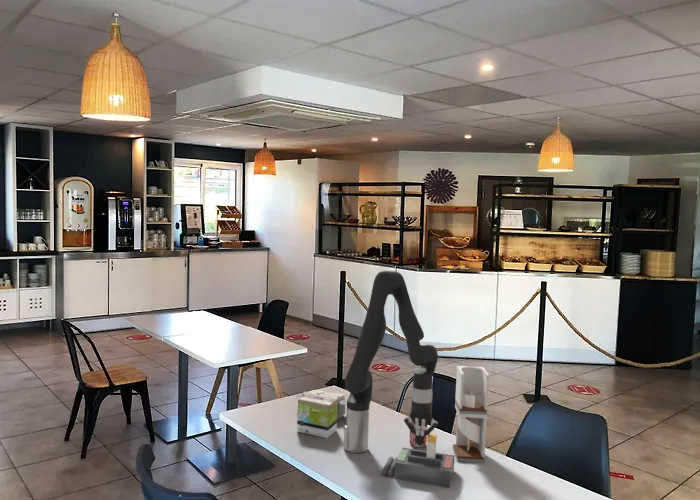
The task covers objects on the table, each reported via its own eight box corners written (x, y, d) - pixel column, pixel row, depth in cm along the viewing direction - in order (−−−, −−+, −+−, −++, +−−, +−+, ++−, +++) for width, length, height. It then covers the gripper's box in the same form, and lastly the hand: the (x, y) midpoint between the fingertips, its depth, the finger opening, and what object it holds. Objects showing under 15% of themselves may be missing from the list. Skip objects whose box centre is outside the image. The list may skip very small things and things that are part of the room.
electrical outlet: (343, 424, 260) (342, 402, 260) (293, 414, 276) (292, 393, 275) (356, 416, 270) (356, 395, 270) (307, 407, 286) (307, 387, 285)
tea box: (296, 432, 250) (297, 399, 249) (306, 424, 260) (307, 392, 258) (327, 439, 245) (329, 404, 244) (337, 430, 254) (338, 397, 253)
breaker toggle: (426, 460, 213) (427, 436, 212) (427, 456, 216) (428, 433, 215) (434, 461, 212) (435, 437, 211) (435, 457, 215) (436, 434, 215)
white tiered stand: (452, 448, 239) (457, 365, 236) (478, 450, 239) (483, 367, 236) (457, 461, 228) (461, 373, 225) (484, 462, 227) (489, 375, 225)
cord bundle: (380, 476, 212) (381, 470, 212) (389, 460, 226) (389, 455, 226) (392, 477, 211) (392, 472, 211) (399, 462, 225) (399, 457, 225)
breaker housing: (394, 478, 211) (395, 458, 211) (401, 462, 224) (402, 443, 224) (449, 487, 206) (450, 467, 205) (453, 470, 219) (454, 451, 218)
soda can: (425, 449, 238) (426, 420, 237) (408, 447, 239) (409, 418, 238) (426, 442, 245) (428, 414, 244) (410, 440, 246) (411, 413, 245)
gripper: (441, 398, 215) (439, 443, 217) (406, 393, 219) (404, 438, 220) (438, 404, 208) (436, 451, 209) (402, 399, 212) (400, 445, 213)
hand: (419, 444), depth 215 cm, fingers closed
